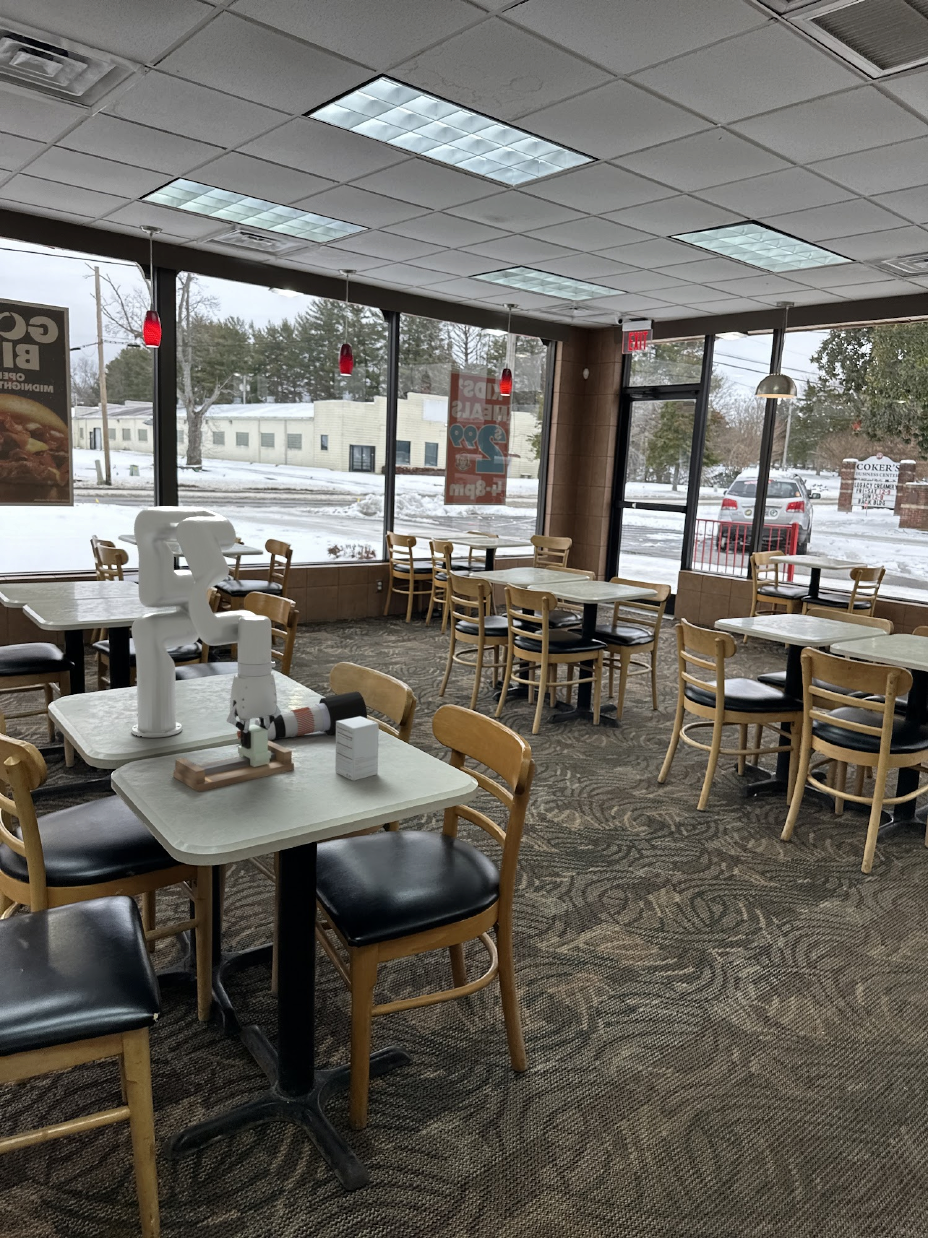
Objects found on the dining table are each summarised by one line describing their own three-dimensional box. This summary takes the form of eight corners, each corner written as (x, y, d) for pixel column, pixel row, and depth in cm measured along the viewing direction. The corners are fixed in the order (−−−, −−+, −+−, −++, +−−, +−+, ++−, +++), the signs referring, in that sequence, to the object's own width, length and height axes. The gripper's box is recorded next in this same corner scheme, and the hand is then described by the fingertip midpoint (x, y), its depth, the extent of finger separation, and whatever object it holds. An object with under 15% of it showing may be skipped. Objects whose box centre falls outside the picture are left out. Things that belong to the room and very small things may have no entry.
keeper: (237, 758, 203) (237, 725, 201) (253, 755, 205) (253, 723, 204) (255, 767, 197) (255, 734, 196) (270, 764, 200) (271, 731, 198)
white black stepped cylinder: (238, 757, 223) (230, 720, 225) (358, 730, 239) (349, 695, 241) (246, 750, 214) (237, 712, 216) (370, 723, 230) (361, 687, 232)
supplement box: (359, 766, 206) (361, 715, 204) (378, 775, 201) (379, 722, 199) (334, 772, 201) (335, 720, 199) (352, 781, 196) (353, 727, 194)
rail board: (173, 776, 194) (173, 758, 193) (266, 756, 211) (267, 739, 210) (198, 791, 186) (198, 772, 185) (293, 769, 202) (294, 752, 201)
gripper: (277, 662, 206) (276, 736, 209) (213, 670, 195) (213, 748, 198) (294, 667, 201) (293, 743, 204) (229, 676, 189) (230, 756, 192)
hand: (254, 745), depth 201 cm, fingers closed on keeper, 3 cm apart
